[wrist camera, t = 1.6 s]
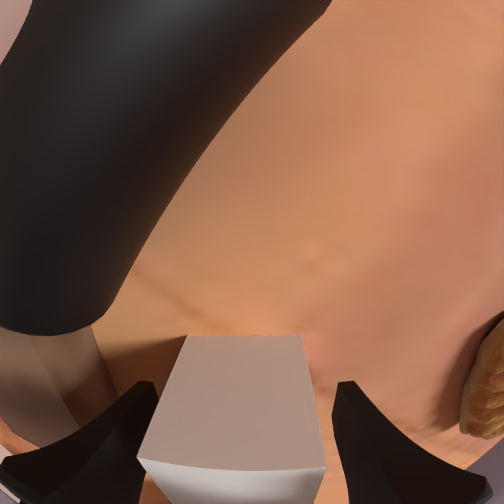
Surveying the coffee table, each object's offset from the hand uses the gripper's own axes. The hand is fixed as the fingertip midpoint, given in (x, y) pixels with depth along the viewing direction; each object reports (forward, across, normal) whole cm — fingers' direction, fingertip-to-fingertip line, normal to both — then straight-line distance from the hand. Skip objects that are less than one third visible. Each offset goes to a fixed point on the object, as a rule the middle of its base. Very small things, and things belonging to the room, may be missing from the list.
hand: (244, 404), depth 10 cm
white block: (+2, 0, 0) cm, 2 cm away
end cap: (+2, +3, -11) cm, 12 cm away
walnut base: (+2, +12, +1) cm, 12 cm away
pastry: (+2, -16, +3) cm, 16 cm away
